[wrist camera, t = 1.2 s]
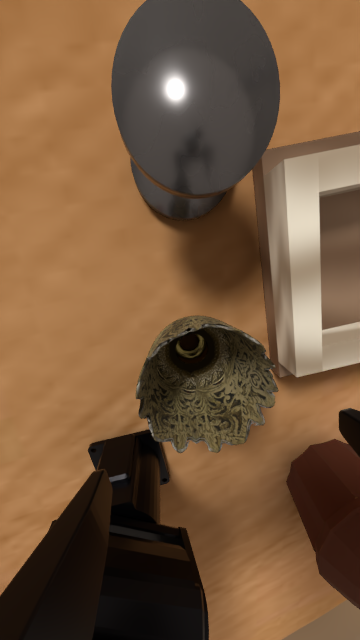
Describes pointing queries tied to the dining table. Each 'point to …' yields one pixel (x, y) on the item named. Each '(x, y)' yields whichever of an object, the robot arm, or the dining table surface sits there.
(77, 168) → the dining table surface
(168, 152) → the bobbin
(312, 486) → the muffin
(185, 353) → the cup
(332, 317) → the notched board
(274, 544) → the dining table surface
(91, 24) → the dining table surface
